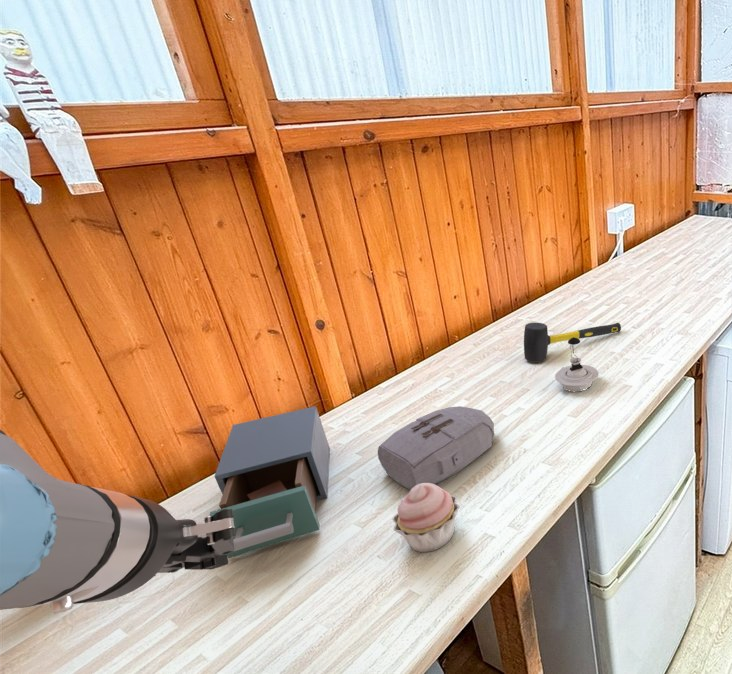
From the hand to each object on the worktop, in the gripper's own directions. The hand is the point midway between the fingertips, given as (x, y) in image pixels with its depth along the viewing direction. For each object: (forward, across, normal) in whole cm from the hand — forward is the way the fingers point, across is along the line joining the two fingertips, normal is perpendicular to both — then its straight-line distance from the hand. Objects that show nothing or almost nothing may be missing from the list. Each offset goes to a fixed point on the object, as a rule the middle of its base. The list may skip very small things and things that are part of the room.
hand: (218, 554), depth 58 cm
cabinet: (+34, 0, +13) cm, 37 cm away
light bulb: (+40, +57, +18) cm, 72 cm away
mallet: (+54, +64, +32) cm, 89 cm away
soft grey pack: (+30, +26, +9) cm, 41 cm away
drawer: (+26, 0, +6) cm, 26 cm away
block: (+25, 0, +7) cm, 26 cm away
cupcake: (+16, +21, -5) cm, 27 cm away
